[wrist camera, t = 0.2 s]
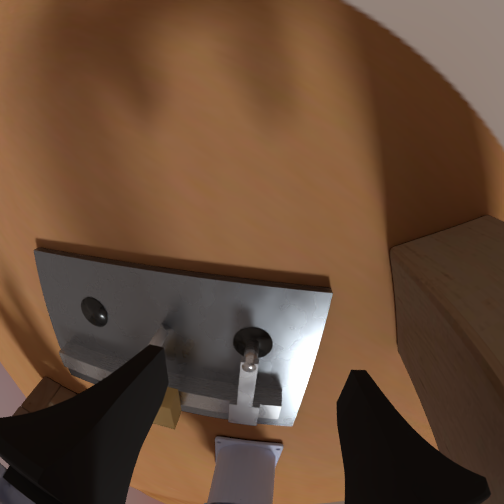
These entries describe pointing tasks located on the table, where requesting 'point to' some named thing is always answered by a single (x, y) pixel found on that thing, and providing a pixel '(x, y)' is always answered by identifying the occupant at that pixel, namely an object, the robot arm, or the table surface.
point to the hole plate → (189, 331)
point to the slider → (167, 393)
